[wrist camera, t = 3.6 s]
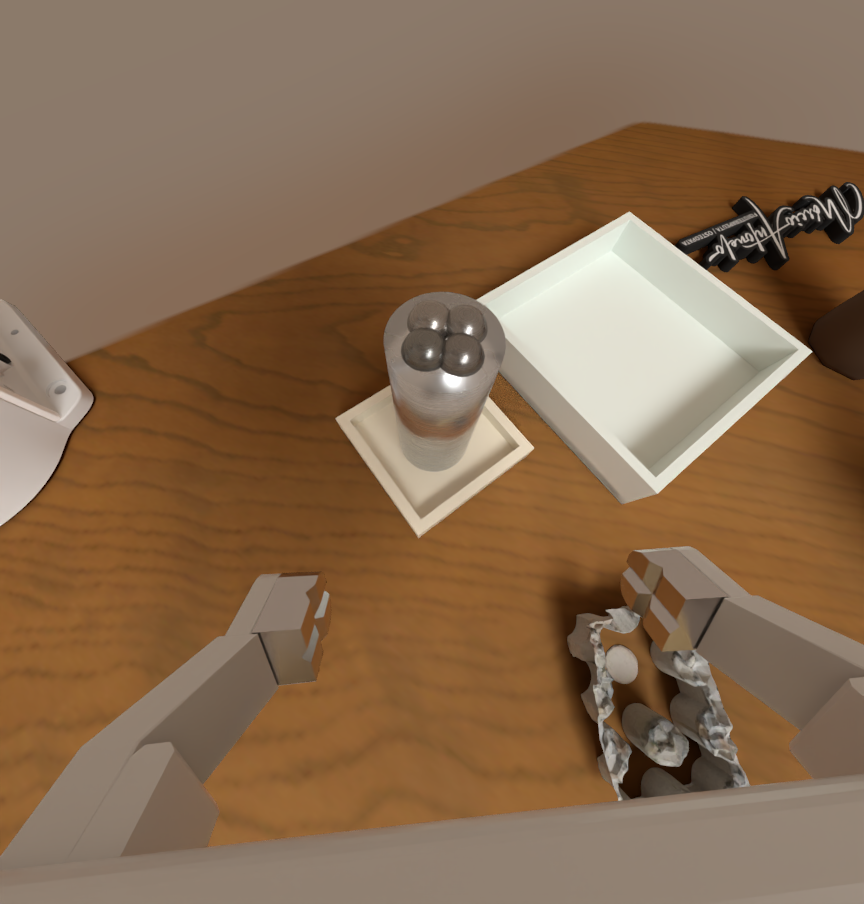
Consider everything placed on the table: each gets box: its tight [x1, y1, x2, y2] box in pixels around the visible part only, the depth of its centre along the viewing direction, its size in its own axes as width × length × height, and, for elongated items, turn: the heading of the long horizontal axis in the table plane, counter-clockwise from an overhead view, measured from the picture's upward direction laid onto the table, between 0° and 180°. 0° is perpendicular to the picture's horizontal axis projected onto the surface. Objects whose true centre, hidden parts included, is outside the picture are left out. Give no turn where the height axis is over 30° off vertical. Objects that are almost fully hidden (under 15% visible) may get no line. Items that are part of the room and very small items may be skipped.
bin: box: [476, 212, 813, 504], centre depth 28 cm, size 20×20×4 cm
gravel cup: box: [384, 292, 506, 472], centre depth 19 cm, size 6×6×13 cm
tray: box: [335, 385, 534, 538], centre depth 25 cm, size 11×11×2 cm
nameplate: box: [675, 182, 864, 272], centre depth 36 cm, size 28×2×10 cm
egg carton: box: [567, 606, 750, 801], centre depth 19 cm, size 11×8×4 cm
